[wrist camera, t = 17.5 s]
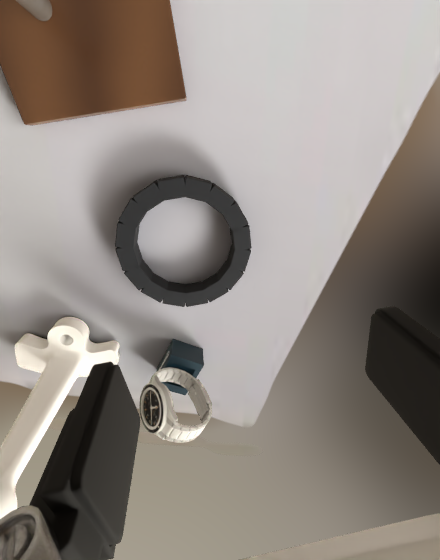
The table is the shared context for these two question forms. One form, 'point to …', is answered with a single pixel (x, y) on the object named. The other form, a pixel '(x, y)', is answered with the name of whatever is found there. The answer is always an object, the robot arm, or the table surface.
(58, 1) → the stand
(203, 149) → the table surface
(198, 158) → the table surface
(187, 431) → the watch
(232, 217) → the ring
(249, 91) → the table surface
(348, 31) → the table surface
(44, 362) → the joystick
